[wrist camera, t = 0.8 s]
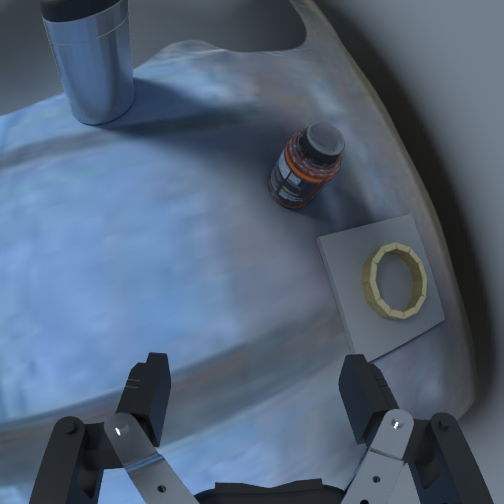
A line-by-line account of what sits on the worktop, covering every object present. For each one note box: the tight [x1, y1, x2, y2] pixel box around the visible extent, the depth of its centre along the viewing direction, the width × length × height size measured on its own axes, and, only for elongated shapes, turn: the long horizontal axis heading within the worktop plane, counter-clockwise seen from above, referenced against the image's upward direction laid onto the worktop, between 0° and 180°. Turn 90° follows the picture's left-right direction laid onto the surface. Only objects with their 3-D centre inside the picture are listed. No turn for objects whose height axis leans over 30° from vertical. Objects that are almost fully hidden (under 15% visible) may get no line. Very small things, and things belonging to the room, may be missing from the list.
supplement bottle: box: [268, 121, 345, 208], centre depth 33 cm, size 6×6×11 cm
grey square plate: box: [316, 214, 445, 362], centre depth 38 cm, size 16×16×1 cm
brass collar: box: [361, 242, 427, 320], centre depth 36 cm, size 9×9×2 cm
